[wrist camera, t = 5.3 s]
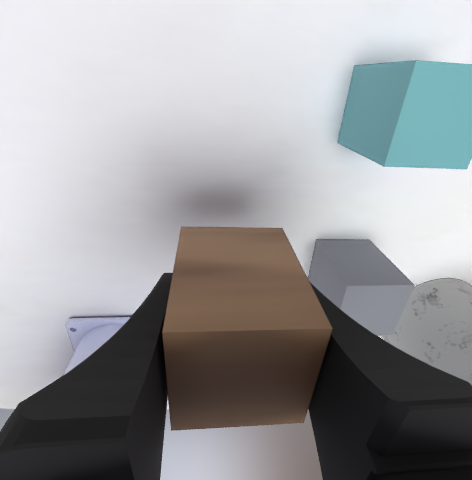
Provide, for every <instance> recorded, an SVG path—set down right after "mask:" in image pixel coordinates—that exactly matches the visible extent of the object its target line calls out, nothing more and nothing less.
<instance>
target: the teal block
mask: <svg viewBox="0 0 472 480" xmlns="http://www.w3.org/2000/svg"><path fill="white" fill-rule="evenodd" d="M338 143H339V144H341V145H343V146H345V147H347V148H348V149H350V150H352V151H354V152H356V153H358V154H360V155H362V156H364V157H366V158H368V159H370V160H372V161H374V162H376V163H378V164H380V165H382V166H385V167H415V168H446V169H467V167H468V165H469V163H470V161H471V158H472V64H459V63H445V62H432V61H418V60H415V61H403V62H391V63H379V64H367V65H355V66H354V69H353V74H352V78H351V83H350V87H349V92H348V97H347V101H346V106H345V110H344V115H343V120H342V124H341V129H340V133H339V138H338Z"/></svg>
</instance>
